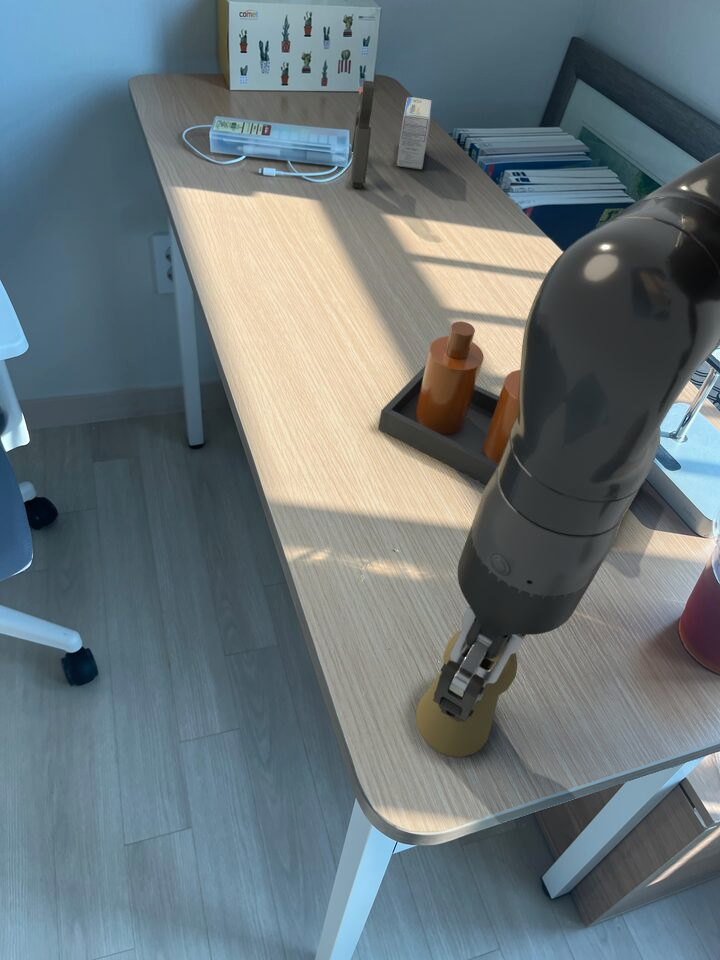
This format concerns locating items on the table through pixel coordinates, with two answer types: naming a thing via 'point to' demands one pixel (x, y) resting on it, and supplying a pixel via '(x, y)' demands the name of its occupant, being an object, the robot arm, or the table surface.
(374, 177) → the table surface
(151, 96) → the table surface
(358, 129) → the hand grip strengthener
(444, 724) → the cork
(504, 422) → the amber bottle middle
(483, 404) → the tray
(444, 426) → the amber bottle far
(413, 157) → the medicine box
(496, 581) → the robot arm
